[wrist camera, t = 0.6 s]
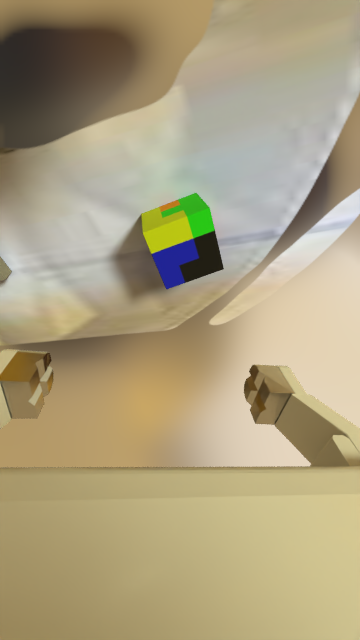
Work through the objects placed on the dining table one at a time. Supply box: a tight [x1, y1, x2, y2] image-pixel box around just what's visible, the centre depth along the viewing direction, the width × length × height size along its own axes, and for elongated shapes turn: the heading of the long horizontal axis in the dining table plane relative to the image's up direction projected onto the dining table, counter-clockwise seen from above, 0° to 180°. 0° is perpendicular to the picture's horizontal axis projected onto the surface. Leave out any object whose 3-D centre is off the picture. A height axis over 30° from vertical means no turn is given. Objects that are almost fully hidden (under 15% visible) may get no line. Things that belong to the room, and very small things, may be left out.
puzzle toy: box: [141, 193, 224, 289], centre depth 42 cm, size 10×10×10 cm
